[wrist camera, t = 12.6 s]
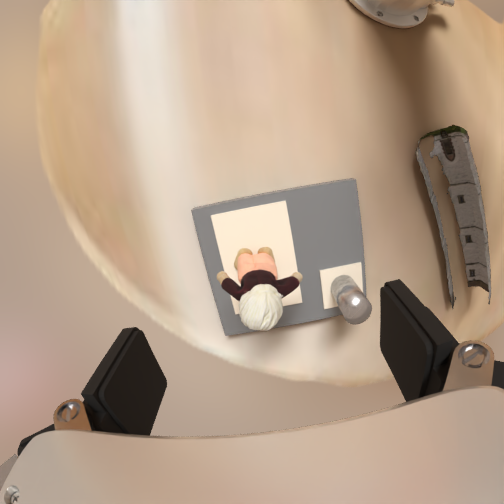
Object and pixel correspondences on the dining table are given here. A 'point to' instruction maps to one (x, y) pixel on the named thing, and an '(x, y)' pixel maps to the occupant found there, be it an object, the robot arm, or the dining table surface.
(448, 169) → the model building
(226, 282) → the grandmother figurine
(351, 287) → the pin
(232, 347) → the dining table surface
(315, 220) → the board
